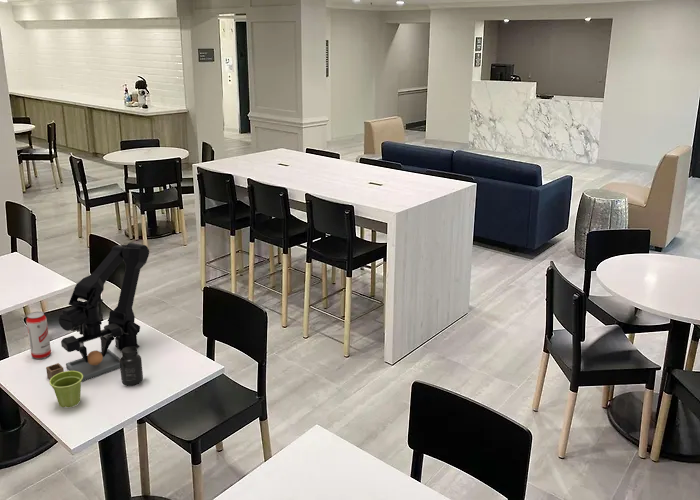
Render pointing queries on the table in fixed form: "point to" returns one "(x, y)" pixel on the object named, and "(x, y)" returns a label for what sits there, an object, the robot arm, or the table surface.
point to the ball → (95, 358)
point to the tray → (95, 366)
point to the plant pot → (67, 387)
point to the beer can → (38, 335)
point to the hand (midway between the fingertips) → (94, 359)
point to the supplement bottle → (131, 366)
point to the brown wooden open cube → (54, 370)
